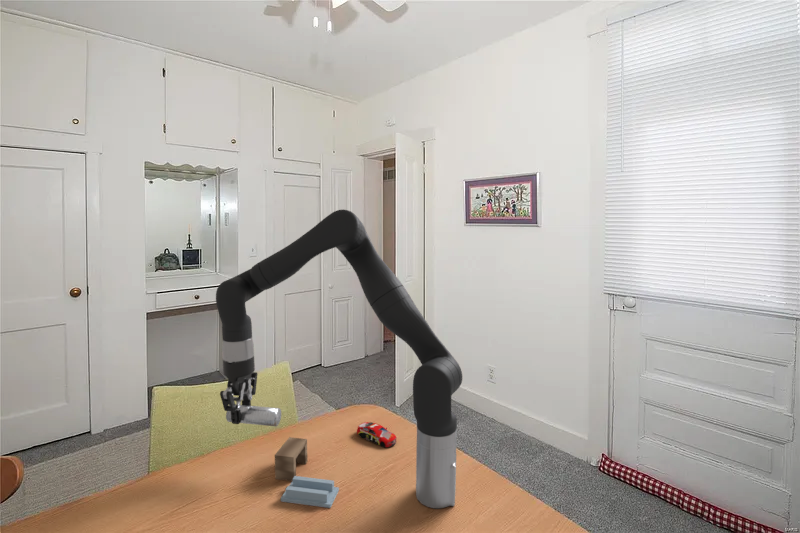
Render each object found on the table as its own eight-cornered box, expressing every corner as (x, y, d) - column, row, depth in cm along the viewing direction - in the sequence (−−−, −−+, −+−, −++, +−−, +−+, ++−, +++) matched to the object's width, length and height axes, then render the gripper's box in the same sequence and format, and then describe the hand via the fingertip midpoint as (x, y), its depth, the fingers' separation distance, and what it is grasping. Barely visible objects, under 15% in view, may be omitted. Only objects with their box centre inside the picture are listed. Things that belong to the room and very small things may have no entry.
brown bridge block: (307, 461, 110) (306, 439, 109) (294, 481, 102) (293, 457, 101) (289, 459, 111) (289, 437, 110) (275, 479, 103) (274, 455, 102)
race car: (400, 443, 120) (400, 430, 119) (388, 451, 116) (388, 438, 115) (366, 428, 128) (366, 416, 127) (354, 435, 124) (354, 423, 123)
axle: (281, 420, 108) (280, 405, 107) (273, 429, 103) (273, 413, 103) (236, 416, 110) (235, 401, 109) (226, 425, 106) (225, 409, 105)
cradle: (338, 490, 99) (338, 479, 98) (330, 507, 93) (330, 496, 93) (291, 484, 101) (291, 474, 100) (280, 501, 95) (280, 490, 95)
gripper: (240, 345, 113) (243, 405, 115) (207, 364, 99) (211, 431, 101) (265, 347, 111) (268, 407, 113) (236, 366, 97) (239, 434, 99)
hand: (241, 418), depth 107 cm, fingers closed on axle, 4 cm apart
